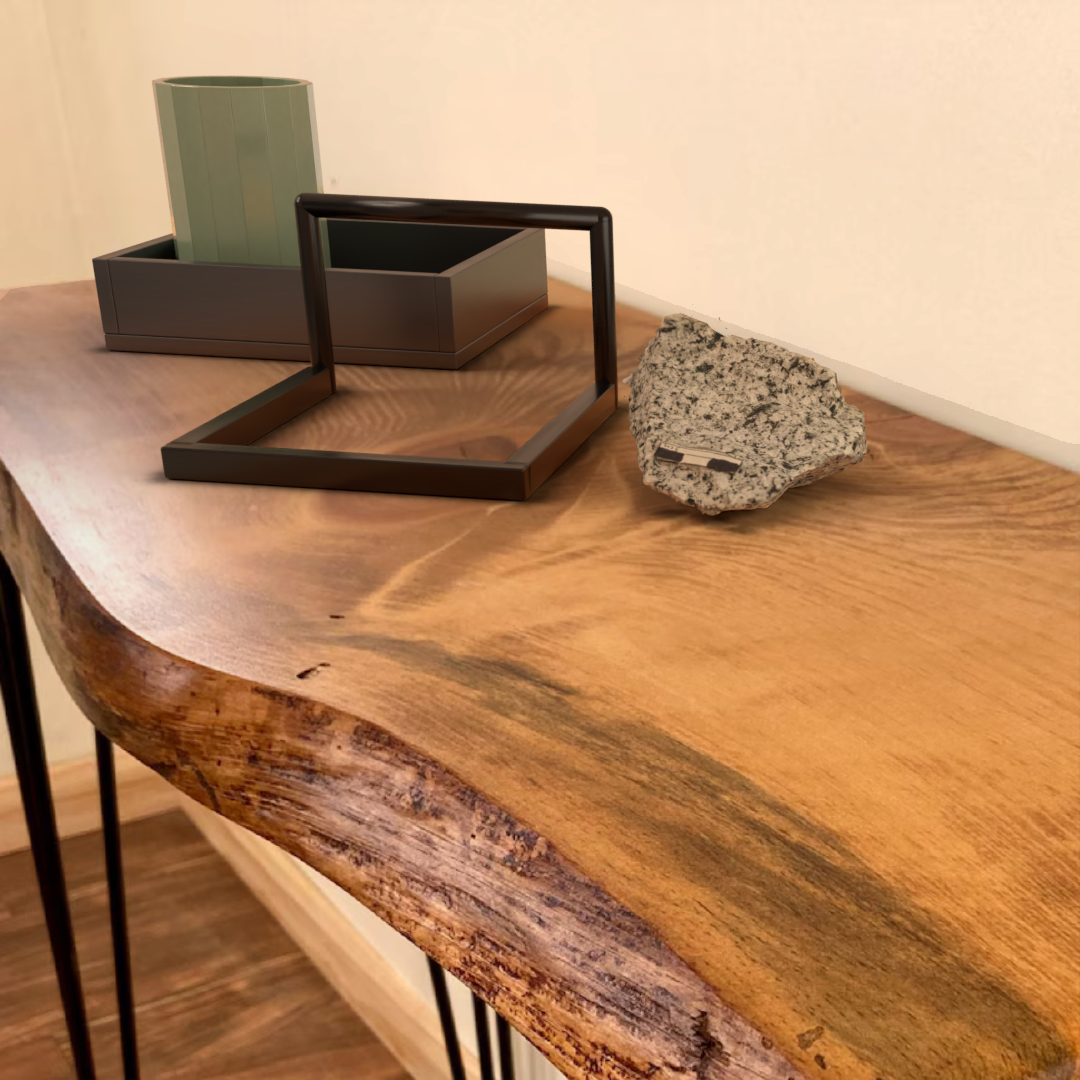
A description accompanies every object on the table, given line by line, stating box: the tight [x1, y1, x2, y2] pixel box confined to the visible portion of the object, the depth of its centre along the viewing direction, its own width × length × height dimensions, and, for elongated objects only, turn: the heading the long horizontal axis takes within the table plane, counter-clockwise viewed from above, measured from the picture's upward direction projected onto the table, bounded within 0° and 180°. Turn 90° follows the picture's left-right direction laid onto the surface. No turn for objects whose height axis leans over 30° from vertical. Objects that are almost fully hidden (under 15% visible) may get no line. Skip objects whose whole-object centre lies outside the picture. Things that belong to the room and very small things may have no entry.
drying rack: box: [160, 192, 619, 501], centre depth 72 cm, size 14×16×8 cm
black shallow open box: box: [91, 218, 549, 370], centre depth 92 cm, size 18×17×4 cm
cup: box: [151, 75, 331, 268], centre depth 90 cm, size 7×7×11 cm
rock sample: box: [621, 304, 874, 516], centre depth 67 cm, size 10×8×9 cm
